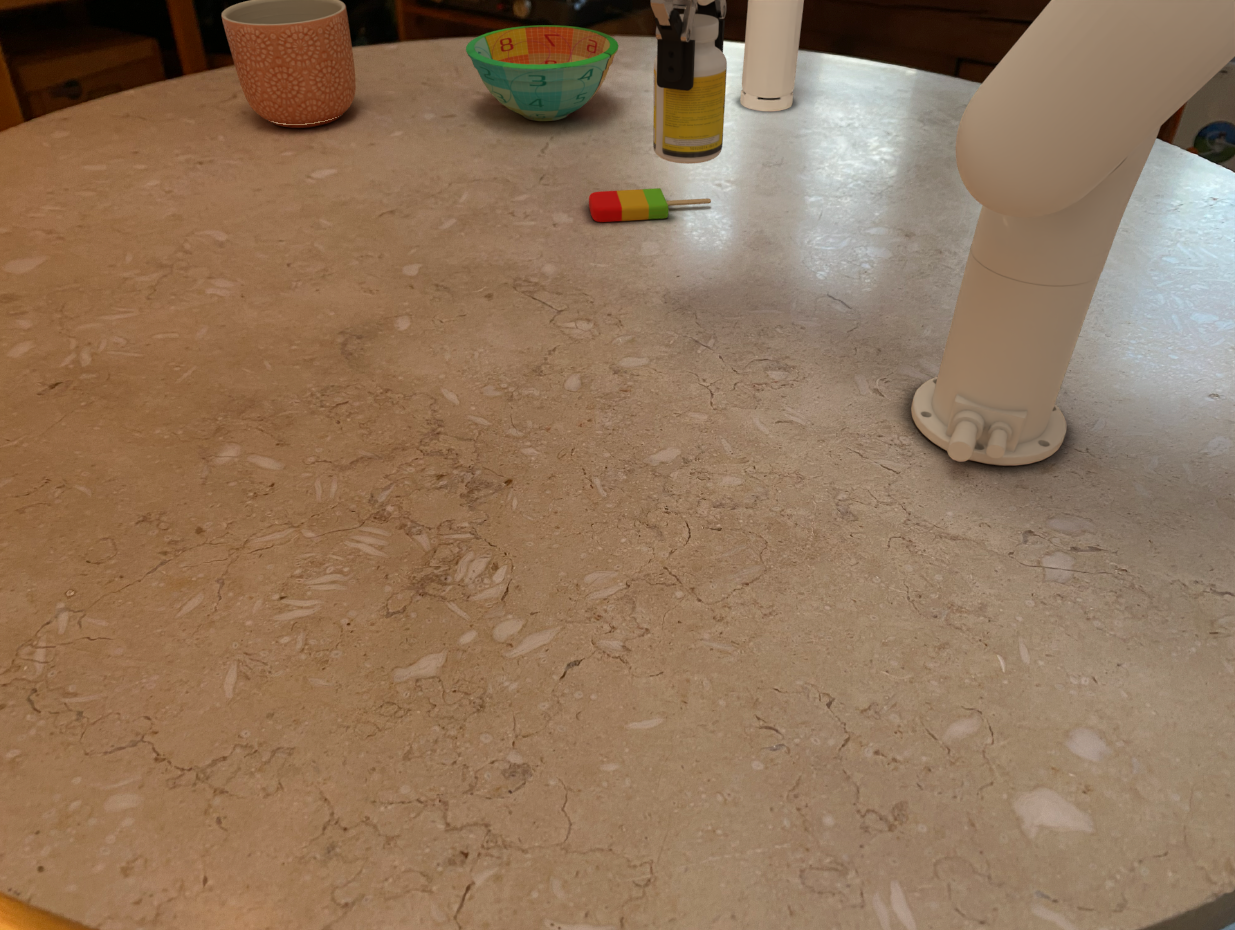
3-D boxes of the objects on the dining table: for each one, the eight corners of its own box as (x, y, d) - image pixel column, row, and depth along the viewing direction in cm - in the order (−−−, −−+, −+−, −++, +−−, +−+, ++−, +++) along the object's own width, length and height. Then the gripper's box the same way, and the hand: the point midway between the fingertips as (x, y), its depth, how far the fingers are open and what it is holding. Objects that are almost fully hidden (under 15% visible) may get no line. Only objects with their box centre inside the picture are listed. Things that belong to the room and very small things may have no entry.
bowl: (441, 119, 141) (433, 49, 135) (534, 82, 156) (530, 17, 149) (559, 150, 131) (556, 76, 125) (646, 107, 146) (647, 38, 139)
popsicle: (587, 205, 117) (587, 190, 116) (705, 199, 119) (706, 184, 117) (592, 224, 113) (592, 209, 112) (715, 217, 114) (716, 202, 113)
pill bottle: (730, 163, 86) (738, 27, 78) (660, 169, 85) (663, 31, 78) (712, 139, 91) (718, 9, 84) (646, 144, 90) (647, 13, 83)
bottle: (763, 91, 152) (782, -110, 134) (802, 103, 147) (827, -104, 129) (729, 102, 147) (744, -104, 130) (769, 115, 143) (790, -98, 125)
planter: (386, 115, 143) (370, 7, 133) (291, 146, 133) (265, 31, 123) (320, 92, 152) (299, -11, 142) (225, 119, 142) (197, 11, 132)
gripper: (705, -152, 65) (694, 111, 76) (779, -174, 77) (760, 56, 88) (607, -155, 67) (610, 100, 79) (694, -176, 80) (686, 47, 91)
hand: (690, 74), depth 83 cm, fingers closed on pill bottle, 6 cm apart
